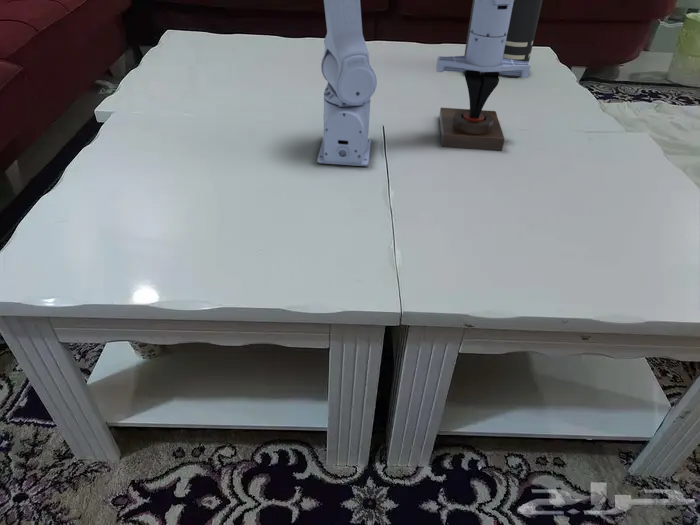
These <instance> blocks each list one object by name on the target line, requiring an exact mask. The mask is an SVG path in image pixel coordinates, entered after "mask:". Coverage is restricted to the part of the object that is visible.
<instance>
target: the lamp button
mask: <svg viewBox="0 0 700 525" xmlns="http://www.w3.org/2000/svg"><path fill="white" fill-rule="evenodd" d="M469 113H470V112H466V113H464V114H463V119H465V120H468V121H471V122H482V121H484V118H485V117H484V115H482V114H480V116H479V118H470V114H469Z"/></svg>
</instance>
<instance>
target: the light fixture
mask: <svg viewBox="0 0 700 525" xmlns="http://www.w3.org/2000/svg"><path fill="white" fill-rule="evenodd" d="M543 1H544V0H514V2H513V8H512V13H511V18H510V23H509V28H508V33H507V38H506V44H505V49H504V54H503V58H504V59H510V60H516V61H524V62H529V63H530V59H531V53H532V49H533V46H534V40H535V37H536V33H537V28H538V23H539V18H540V14H541V10H542V5H543ZM474 2H475V0H472V3H471V10H470V17H469V23H468V29H467V35H466V40H465V49H464V55H463V56H466V54H467V47H468V41H469V34H470V28H471V21H472V15H473V9H474ZM499 76H500V77H505V78H522V77H521V76H516V75H500V74H499Z"/></svg>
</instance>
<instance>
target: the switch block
mask: <svg viewBox="0 0 700 525" xmlns="http://www.w3.org/2000/svg"><path fill="white" fill-rule="evenodd" d="M466 112H470V108H454V107H440V109H439V116H438V122H439V131H440V137H441V138H440V139H441V146H442V148H456V149H457V148H458V149H470V150H471V149H473V150H474V149H475V150H486V151H487V150H488V151H503V147H504V144H505V135H504V133H503V129H502V127H501V123H500V121H499V118H498V115H497V111H496V110H485V109H484V110H483V109H482V110H481V113H480V114H482V115H484V117H485V118H484V121H482V122H471V121H468V120H465V119H463V114H464V113H466Z"/></svg>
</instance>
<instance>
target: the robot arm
mask: <svg viewBox="0 0 700 525" xmlns="http://www.w3.org/2000/svg"><path fill="white" fill-rule="evenodd" d="M513 2H514V0H475V2H474V9H473V15H472V21H471V28H470V34H469V41H468V47H467V54H466V56H464V55H454V56H453V55H452V56H451V55H450V56H441V55H439V56H437V61H436V68H435V69H436V73H444V72H452V73H453V72H455V73H463V75H464V79H465V82H466V83H465V84H466V87H467V91H468V99H469V109H470V113H469V114H470V118H479V116H480V113H481V110H483V109H484V106H485V105H486V102H487V101H488V99H489V97H490V95H491V94H492V93H493V91H494V90H495V89H496V88H497V86H498V85H499V82H500V77H499V76H500V75H516V76H521V77H520V78H529V74H530V69H531V64H530V61H529V62H524V61H516V60H510V59H504V58H503V54H504V49H505V44H506V38H507V33H508V28H509V23H510V18H511V13H512V8H513ZM323 5H324V7H323V8H324V14H325V15H324V16H325V23H326V24H325V25H326V35H325V37H324V40H323V44H324V53H323V55H322V59H321V63H320V70H321V73H322V77H323V78H324V80H326V82H327V84H326V86H325V88H324V91H323V137H322V142H321V144H320V148H319V152H318V156H317V161H316V162H317V163H318V164H327V165H340V166H353V167H355V166H356V167H368V166H369V160H370V153H371V145H372V139H371V138H369V132H370V131H369V130H370V129H369V128H370V113H371V98H372V97H373V95H374V94H375V92H376V90H377V86H378V77H377V74H376V72H375V70H374V68H373V67H372V65H371V62H370V53H369V50H368V47H367V43H366V40H365V37H364V34H363V33H364V32H363V21H362V8H361V7H362V6H361V0H323ZM499 74H500V75H499Z"/></svg>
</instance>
